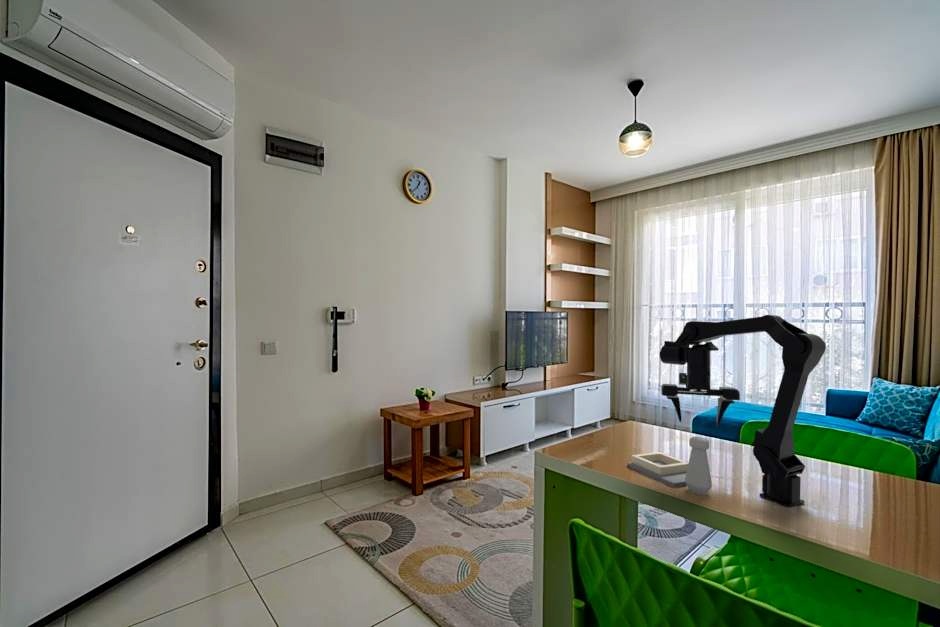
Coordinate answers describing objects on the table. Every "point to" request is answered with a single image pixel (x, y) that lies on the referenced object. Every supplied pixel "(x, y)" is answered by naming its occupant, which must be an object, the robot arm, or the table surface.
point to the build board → (661, 467)
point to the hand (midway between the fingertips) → (698, 423)
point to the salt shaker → (698, 467)
